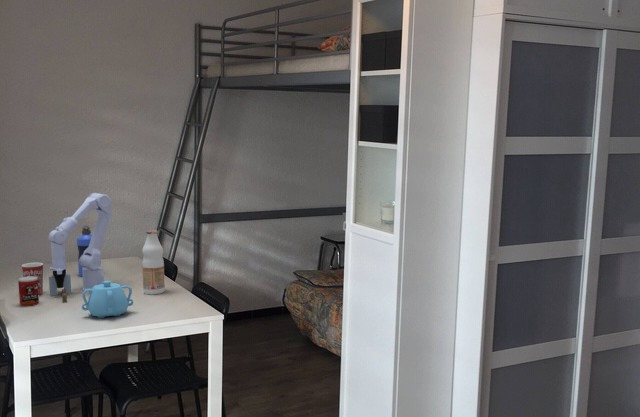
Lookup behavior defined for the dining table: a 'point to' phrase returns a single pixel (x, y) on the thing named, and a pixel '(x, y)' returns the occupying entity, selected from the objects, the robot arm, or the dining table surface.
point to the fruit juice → (153, 265)
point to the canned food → (28, 291)
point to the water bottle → (83, 245)
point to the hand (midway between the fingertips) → (60, 287)
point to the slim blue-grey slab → (54, 287)
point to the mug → (34, 273)
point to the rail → (64, 295)
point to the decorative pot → (107, 299)
